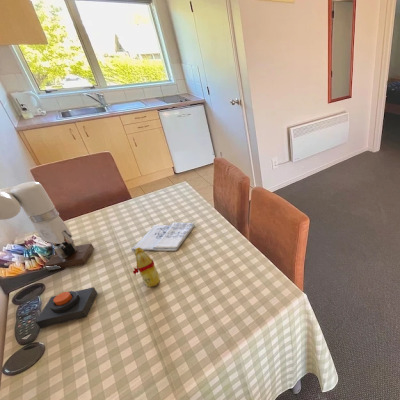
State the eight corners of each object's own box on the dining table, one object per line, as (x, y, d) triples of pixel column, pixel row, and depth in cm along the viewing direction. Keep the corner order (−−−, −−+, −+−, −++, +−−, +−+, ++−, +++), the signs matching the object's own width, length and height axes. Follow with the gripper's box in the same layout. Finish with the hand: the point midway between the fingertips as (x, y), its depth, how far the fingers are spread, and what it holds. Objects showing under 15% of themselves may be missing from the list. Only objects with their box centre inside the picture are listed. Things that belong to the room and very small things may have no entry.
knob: (63, 258, 105) (57, 248, 102) (59, 258, 105) (53, 247, 102) (77, 249, 109) (71, 239, 106) (73, 249, 110) (67, 239, 107)
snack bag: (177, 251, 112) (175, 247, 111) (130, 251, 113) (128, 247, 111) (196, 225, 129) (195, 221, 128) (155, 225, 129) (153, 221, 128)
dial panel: (48, 271, 103) (44, 265, 101) (60, 255, 111) (56, 249, 109) (85, 264, 106) (81, 258, 105) (94, 248, 114) (91, 242, 113)
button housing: (40, 328, 82) (31, 318, 79) (56, 303, 90) (48, 292, 88) (86, 317, 85) (79, 306, 83) (97, 293, 93) (91, 283, 91)
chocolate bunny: (155, 267, 104) (142, 237, 97) (163, 283, 97) (149, 252, 90) (135, 276, 100) (120, 245, 93) (142, 293, 93) (126, 261, 86)
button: (53, 307, 83) (50, 303, 82) (59, 297, 86) (56, 293, 86) (69, 303, 84) (66, 299, 83) (74, 294, 88) (71, 290, 87)
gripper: (15, 217, 96) (42, 255, 105) (49, 223, 93) (74, 262, 102) (39, 206, 102) (62, 244, 112) (71, 211, 99) (92, 249, 108)
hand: (68, 252), depth 107 cm, fingers closed on knob, 2 cm apart
